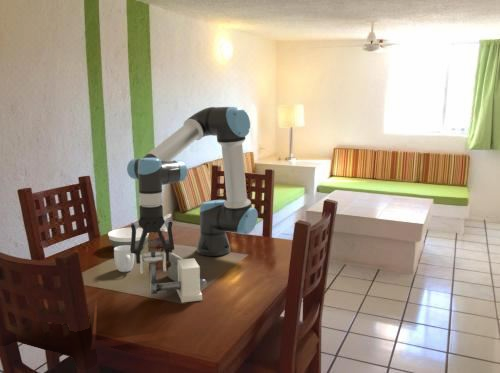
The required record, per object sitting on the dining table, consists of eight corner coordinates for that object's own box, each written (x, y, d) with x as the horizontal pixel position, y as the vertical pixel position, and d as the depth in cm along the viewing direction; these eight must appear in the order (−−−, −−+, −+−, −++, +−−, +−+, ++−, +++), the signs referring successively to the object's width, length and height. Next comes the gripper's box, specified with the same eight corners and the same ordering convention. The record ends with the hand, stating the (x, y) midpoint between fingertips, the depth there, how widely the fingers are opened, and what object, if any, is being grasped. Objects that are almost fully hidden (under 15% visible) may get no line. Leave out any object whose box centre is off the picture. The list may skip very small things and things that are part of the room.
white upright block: (195, 287, 166) (195, 257, 165) (202, 300, 155) (201, 267, 153) (176, 289, 164) (175, 259, 162) (181, 302, 153) (181, 270, 151)
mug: (140, 273, 181) (139, 250, 179) (120, 277, 176) (119, 253, 175) (131, 265, 190) (130, 244, 188) (112, 269, 185) (111, 247, 184)
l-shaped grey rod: (204, 284, 165) (203, 241, 162) (208, 291, 158) (208, 247, 155) (142, 291, 158) (140, 247, 156) (144, 298, 152) (142, 253, 149)
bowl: (158, 247, 215) (158, 230, 214) (128, 258, 199) (127, 239, 198) (130, 241, 225) (129, 225, 223) (99, 251, 209) (98, 233, 208)
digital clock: (195, 283, 171) (194, 259, 169) (174, 286, 168) (174, 262, 166) (184, 271, 183) (184, 249, 182) (165, 274, 180) (165, 252, 179)
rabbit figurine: (156, 230, 247) (155, 212, 245) (169, 228, 250) (169, 211, 248) (160, 235, 236) (160, 217, 234) (175, 234, 239) (174, 216, 237)
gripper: (179, 201, 157) (180, 264, 161) (119, 204, 151) (122, 270, 155) (182, 205, 150) (184, 271, 154) (120, 208, 144) (123, 278, 148)
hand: (153, 271), depth 155 cm, fingers closed on l-shaped grey rod, 7 cm apart
